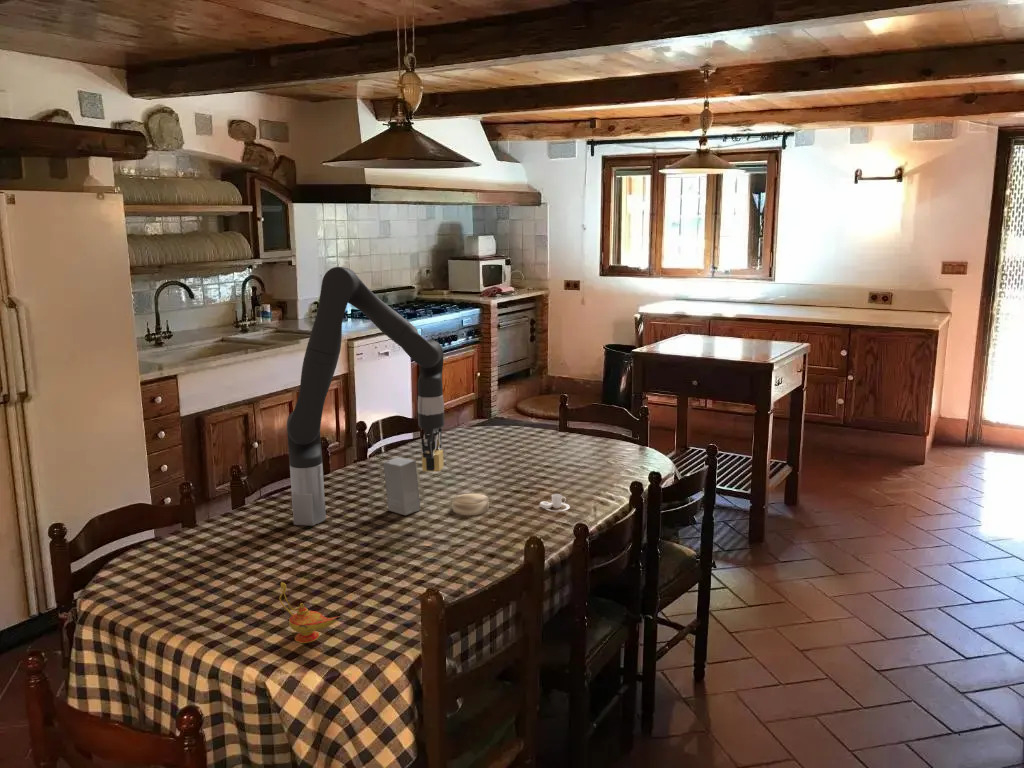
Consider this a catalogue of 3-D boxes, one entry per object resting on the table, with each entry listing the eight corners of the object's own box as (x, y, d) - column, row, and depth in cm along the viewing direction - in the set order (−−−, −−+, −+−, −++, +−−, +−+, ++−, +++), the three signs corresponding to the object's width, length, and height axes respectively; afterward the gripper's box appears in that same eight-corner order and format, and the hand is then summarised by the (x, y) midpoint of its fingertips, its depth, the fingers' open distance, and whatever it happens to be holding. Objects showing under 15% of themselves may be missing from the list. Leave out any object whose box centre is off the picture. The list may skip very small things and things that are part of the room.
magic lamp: (334, 657, 165) (331, 606, 163) (269, 635, 174) (266, 587, 172) (356, 641, 171) (353, 592, 168) (293, 622, 180) (289, 575, 177)
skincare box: (421, 510, 247) (419, 460, 244) (402, 517, 242) (400, 465, 239) (403, 504, 253) (401, 455, 250) (384, 510, 248) (382, 460, 244)
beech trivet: (484, 516, 242) (484, 505, 241) (448, 514, 243) (448, 504, 243) (491, 503, 252) (491, 493, 252) (457, 502, 254) (456, 492, 253)
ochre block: (439, 471, 236) (438, 454, 235) (422, 470, 237) (421, 454, 236) (443, 466, 241) (443, 450, 240) (427, 465, 242) (426, 449, 241)
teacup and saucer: (536, 510, 247) (536, 497, 246) (548, 502, 254) (548, 489, 253) (563, 514, 243) (563, 501, 242) (574, 506, 250) (574, 493, 249)
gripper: (425, 404, 243) (427, 459, 246) (411, 416, 229) (413, 474, 232) (449, 405, 242) (451, 460, 245) (437, 416, 228) (439, 475, 231)
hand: (433, 467), depth 239 cm, fingers closed on ochre block, 5 cm apart
